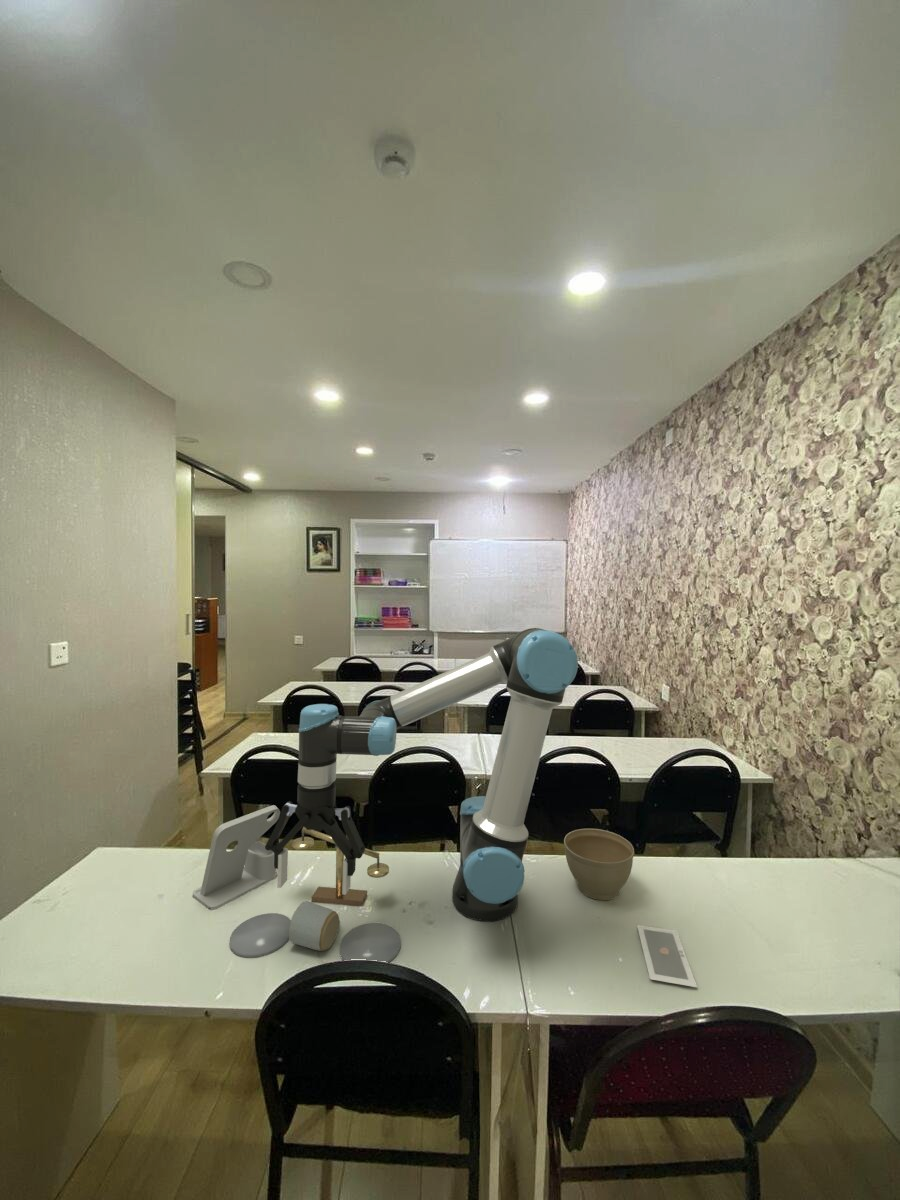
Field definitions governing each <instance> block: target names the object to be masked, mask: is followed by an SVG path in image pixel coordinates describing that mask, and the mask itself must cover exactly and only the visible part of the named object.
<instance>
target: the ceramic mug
mask: <svg viewBox="0 0 900 1200" xmlns="http://www.w3.org/2000/svg"><path fill="white" fill-rule="evenodd" d="M290 920H291V922H290V927H289V941H290V942H291V943H292V944H294V945H299V946H301V947H305V948H309V949H312V950H315V951H320V952H321V951H323V952H324V951H327V950H328V949H329V948H330V947H332V944H333V943H334V942H335V940H336V938H337V935H338V931H339V929H340V925H341V920H340V916H339V914H338V913H337V911H335V910H333V909H332V908H330V907H325V906H323V905H320V904H317V903H316V902H311V901H309V900H304V901H302V902H301V903H300V904H299V905H298V906H297V907H296V909H295V910H294V912H293V914H292V917H291V919H290Z"/></svg>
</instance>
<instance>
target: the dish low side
mask: <svg viewBox="0 0 900 1200" xmlns="http://www.w3.org/2000/svg"><path fill="white" fill-rule="evenodd" d="M401 945H402V943H401V935H400V933H399V932H398V930H397V929H396V928H394V927H393V926H391V925H389V924H386V923H382V922H368V923H366V922H365V923H363V924H359V925H356V926H355V927H353V928H352V929H350V930H348V931H347V932H346V933H345V934H344V935H343V937H342V938H341V940H340V943H339V956H340V955H341V956H340V958H341V957H342V959H341V960H342V961H343V960H351V959H366V960H377V961H386V962H390V963H391V962H392V961H394V959H396V957H397V956H398V954H399V952H400V950H401Z"/></svg>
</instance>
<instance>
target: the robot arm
mask: <svg viewBox="0 0 900 1200" xmlns="http://www.w3.org/2000/svg"><path fill="white" fill-rule="evenodd" d="M578 663H579V661H578V656H577V651H576V650H575V648H574V646H573V644H572V643H571V642H570V641H569V640H568V639H566V637H564V635H561V634H560V633H559V632H555V631H553V630H549V629H548V630H547V629H544V628H543V629H542V628H539V627H532V628H530V627H529V628H527V629H524V630H521V631H520V632H518V633H516V634H514V635H512V636H511V637H508V638H507V639H505V640H504V641H501V642H499V643H497V644H495V645H493V646H491V647H490V648H489V652H487V653H485V654H483V655H481V656H478V657H477V658H474V659H472V660H469V661H467V662H465V663H463V664H461V665H459V666H456V667H454V668H451V669H449V670H447V671H444V672H442V673H440V674H438V675H435V676H433V677H432V678H429V679H427V680H423V681H422V682H419V683H417V684H415V685H413V686H411V687H408V688H406V689H404V690H401V691H399V692H397V693H395V694H393V695H391V696H389V697H385V698H383V699H381V700H380V699H379V700H374V701H372V702H370V703H368V704H367V705H366V706H365V707H364V708H363V710H362V712H361V714H360V715H359V716H357V715H356V716H350V715H349V716H346V715H340V713H339V709H338V707H337V706H336V705H334V704H329V703H316V704H310V705H307V706H305V707H303V708H302V709H301V712H300V715H299V728H298V763H297V765H298V766H297V767H298V769H297V783H298V785H297V792H296V793H297V795H296V796H297V799H296V802H297V804H293V802H292V801H291V800H289V801H287V802H286V803H285V804H284V805H283V806H282V807H281V810H280V816H279V819H278V820H277V822H276V823H275V826H274V828H273V831H272V833H271V835H270V836H269V838H268V840H267V842H266V843H265V844H266V846H265V849H266V850H272V851H273V852H274V867H275V869H276V870H277V882H276V883H277V888H278V889H281V888H282V887H283V886H284V885H285V884H286V883H287V882H288V863H289V862H288V860H289V848H285V847H286V846H287V845H288V844H289V843H290V841H291V840H292V839H293V838H294V837H295V836H296V835H297V833H298V832H299V831H300V830H302V828H303V827H305V828H306V830H315V831H318V832H321V831H324V832H325V833H326V835H329V836H331V838H332V839H333V841H334V842H335V843H336V845H337V846H338V847H339V849H340V850H341V852H342V853H343V854H344V861H343V885H342V894H345V895H346V894H347V892H348V890H349V889H351V881H352V880H351V879H352V876H354V874H355V872H356V863H357V861H356V859H361V858H362V857H363V855H364V854H363V853H364V852H365V848H366V847H365V845H364V843H363V841H362V838H361V836H360V834H359V831H358V829H357V827H356V824H355V822H354V820H353V818H352V811H351V809H352V808H351V806H350V805H346V806H345V807H342V808H341V807H340V808H339V807H338V808H337V805H336V796H337V795H336V789H337V783H336V779H337V755H355V756H356V755H360V756H375V757H378V756H387V755H388V756H389V755H391V754H393V753H394V752H395V749H396V743H397V731H398V730H399V729H401V728H403V727H404V726H407V725H410V724H412V723H415V722H416V721H419V720H421V719H423V718H426V717H428V716H430V715H432V714H434V713H436V712H440V711H442V710H444V709H446V708H448V707H450V706H452V705H456V704H458V703H459V702H461V701H464V700H466V699H468V698H471V697H473V696H476V695H478V694H480V693H483V692H485V691H487V690H489V689H491V688H494V687H496V686H498V685H500V684H505V687H506V689H507V692H508V693H509V695H510V701H509V705H508V708H507V712H506V716H505V719H504V720H505V721H504V722H503V723H504V725H503V727H502V731H501V736H500V739H499V743H498V748H497V752H496V755H495V759H494V762H493V767H492V771H491V774H490V779H489V783H488V787H487V790H486V794H485V795H482V796H481V795H479V796H472V797H471V796H470V797H467V798H466V799H464V800H463V801H462V802H461V804H460V812H459V815H460V826H459V827H460V829H459V830H460V832H459V833H460V837H459V838H460V839H459V840H460V841H459V843H460V845H459V846H460V849H459V855H460V856H459V857H460V858H459V860H460V863H459V867H458V870H457V874H456V877H455V879H454V882H453V886H452V897H451V898H452V899H451V900H452V903H453V907H454V908H455V909H456V910H457V911H458V912H459V913H460V914H462V916H465V917H467V918H470V919H472V920H476V921H481V922H495V921H501V920H504V919H506V918H507V917H509V916H511V915H512V914H513V913H514V912H515V911H516V910H517V907H518V904H519V903H518V899H519V898H518V896H519V893H520V891H521V890H522V888H523V885H524V881H525V866H524V863H523V859H524V855H525V851H526V847H527V841H528V838H529V831H528V829H527V827H526V825H525V824H524V823H525V820H526V819H525V818H526V815H527V814H526V813H527V811H528V807H529V803H530V798H531V794H532V790H533V786H534V783H535V779H536V775H537V772H538V771H537V770H538V767H539V763H540V759H541V755H542V751H543V747H544V744H545V739H546V736H547V731H548V728H549V724H550V719H551V716H552V713H553V709H554V708H557V707H558V706H560V705H561V704H562V703H563V699H564V696H565V692H566V689H567V688H568V686H570V685H571V684H572V682H573V681H574V680H575V678H576V675H577V673H578V667H579V664H578ZM293 814H296V816H297V818H298V822H297V823H296V824H295V825H294V826H293V828H292V829H291V830H290V831H289V832H288V833H287V834H286V835H285V837H284V838H282V839H281V841H280V842H278V840H279V839H280V836H281V835H282V833H283V831H284V829H285V827H286V824H288V821H289V819H290V818H291V816H292V815H293ZM336 816H337V817H338V820H339V821H341V825H342V828H343V830H344V832H345V833H344V832H343V830H342V828H340V825H339V824H338V822H337V820H336V819H335V817H336Z"/></svg>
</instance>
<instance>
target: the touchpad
mask: <svg viewBox="0 0 900 1200" xmlns="http://www.w3.org/2000/svg"><path fill="white" fill-rule="evenodd" d="M636 927H637V931H638V935H639V939H640V943H641V947H642V951H643V956H644V960H645V963H646V964H645V965H646V967H647V970H648V971H647V972H648V975H649V979H650V980H652V981H653V980H654V981H658V982H663V983H664V982H665V983H669V984H674V985H675V984H676V985H681V986H688V987H691V988H692V987H693V988H698V986H697V983H696V980H695V977H694V975H693V972H692V969H691V967H690V963H689V960H688V958H687V956H686V953H685V949H684V948H683V947H684V946H683V944H682V941H681V939H680V936H679V933H678V931H677V930H673V929H666V928H662V927H661V928H660V927H654V926H646V925H641V924H640V925H639V924H637V925H636Z"/></svg>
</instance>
